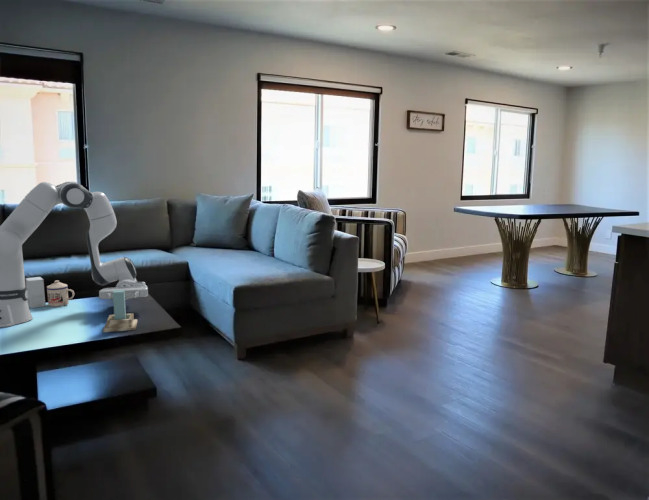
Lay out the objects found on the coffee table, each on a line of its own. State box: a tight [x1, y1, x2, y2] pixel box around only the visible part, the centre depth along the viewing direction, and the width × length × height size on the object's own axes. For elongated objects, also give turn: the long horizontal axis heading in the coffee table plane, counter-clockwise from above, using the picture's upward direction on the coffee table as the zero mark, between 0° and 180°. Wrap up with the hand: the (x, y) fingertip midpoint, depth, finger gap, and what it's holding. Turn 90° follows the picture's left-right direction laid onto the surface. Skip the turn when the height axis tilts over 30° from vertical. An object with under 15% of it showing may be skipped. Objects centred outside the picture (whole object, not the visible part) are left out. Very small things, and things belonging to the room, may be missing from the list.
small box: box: [25, 276, 46, 309], centre depth 240 cm, size 8×6×13 cm
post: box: [112, 290, 127, 320], centre depth 208 cm, size 4×4×14 cm
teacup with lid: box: [46, 279, 75, 308], centre depth 242 cm, size 12×9×12 cm
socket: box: [102, 312, 138, 333], centre depth 209 cm, size 12×12×4 cm
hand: (122, 296), depth 219 cm, fingers open, 8 cm apart
